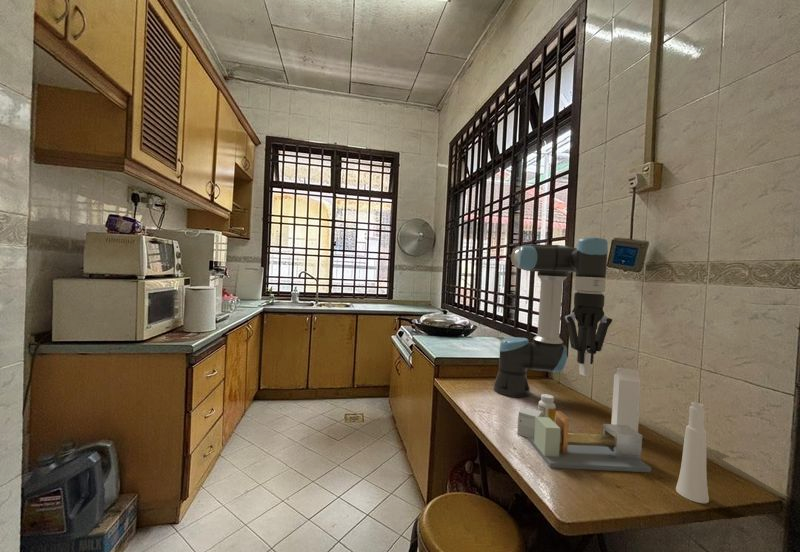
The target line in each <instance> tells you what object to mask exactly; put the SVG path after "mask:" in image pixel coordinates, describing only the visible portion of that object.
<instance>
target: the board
mask: <svg viewBox="0 0 800 552" xmlns="http://www.w3.org/2000/svg"><path fill="white" fill-rule="evenodd" d="M528 441H529V443H530V444H531V446H532V447H533V448H534V450H535V451H536V452H537V453H538V454H539V456H540V457H541V458H542V459H543V461H544V462H545V463H546V464H547V466H548V467H549V468H551V469H569V470H573V469H574V470H592V471H593V470H594V471H595V470H596V471H612V472H613V471H615V472H616V471H617V472H636V473H637V472H638V473H652V467H651V466H650V465H649V464H647V463H646V462H644V461H643V460H642V459H641V460H632V459H616V458H614V457H613V456H612V455H611V454H610V453H608V452H607V451H606V450H605V449H604V448H603V447H600V446H579V445H568V448H567V454H562V453H561V451H560V450H559V457H556V456H544V455H543V453H542V452H541V451H540V450H539V449H538V447H537V446H536V445H535V444H534V438H533V437H529V439H528Z"/></svg>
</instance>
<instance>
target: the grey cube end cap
mask: <svg viewBox="0 0 800 552" xmlns="http://www.w3.org/2000/svg"><path fill="white" fill-rule="evenodd" d="M602 434H606V435H612V436H614V447H603V448H604V449H605V450H606V451H607V452H608V453H610V454H611V455H612V456H613V457H614V458H616V459H632V460H642V446H643V435H642V434H641V433H639V431H638V432H636V431H635V430H633V429H632V428H630V427H629V426H627V425H615V424H611V423H602Z"/></svg>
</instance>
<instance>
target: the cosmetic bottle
mask: <svg viewBox="0 0 800 552" xmlns="http://www.w3.org/2000/svg"><path fill="white" fill-rule="evenodd" d="M704 406H705V405H704V404H703V403H700V402H695V401H691V405H690V406H689V408H688V409H689V412H688V413H689V414H688V424H687V425H686V426H685V430H684V431H685V432H684V440H683V447H682V457H681V464H680V470H679V476H678V480H677V482H676V487H675V491H676V492H677V493H678V494H679V495H680V496H682V497H683V498H684V499H686V500H688V501H692V502H693V503H698V504H708V503H709V502H710V497H709V489H708V479H707V430H706V429H705V417H706V409H705V408H704Z"/></svg>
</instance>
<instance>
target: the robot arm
mask: <svg viewBox="0 0 800 552" xmlns="http://www.w3.org/2000/svg"><path fill="white" fill-rule="evenodd" d="M510 254H511V255H510V262H511V263H512V265H513V266H514V267H515V268H516V269H519V270H522V271H526V272H537V277H538V278H539V279H540V288H539V289H540V292H539V304H538V305H539V307H538V321H537V322H538V323H537V334H536V335H535V336H534V337H533V341H532V342H530V341H529V339H528V338H526V337H517V336H515V337H506V338H503V339H502V340H501V341H500V345H499V349H498V350H499V359H498V371H497V372H498V373H497V375H496V377H495V380H494V383H493V390H494V391H495V393H497V394H500V395H502V396H506V397H513V398H526V397H528V396H530V395H531V394H530V393H531V391H530V390H531V389H530V388H531V387H530V385H529V381H528V378H527V377H528V376H527V371H528V370H532V371H533V370H534V371H540V372H548V373H560V372H562V371H563V370H564V369H565V366H566V364H567V359H568V348H567V346H566V345H564V341H563V340H562V339H561V338H560V329H561V317H562V316H561V314H562V302H563V301H562V300H563V284H564V281H565V280H566V279H567V278H568V275H569V274H571V273H575V277H574V279H575V280H574V291H576V292H574V295H573V309H572V311H571V312H572V313H570V314H568V315H563V319H564V321H565V322H566V326H567V331H568V337H569V343H570V348H571V349H573V350H575V351H577V357H576V358H577V359H576V361H577V363H579V366H578V367H579V369H578V370H579V372H578V374H579V375H582V376H583V377H587V378H588V377H590V373H591V365H593V364H594V355H596V354H597V352H601V351H602V349H603V345H604V343H605V338H606V336H607V333H608V329H609V326H611V324H612V322H613V319H612V318H609V317H607V316H606V315H605V311H604V306H605V296H606V295H605V294H604V293H605V291H606V278H607V277H606V276H607V266H608V265H607V263H608V254H609V250H608V240H607V239H605V238H602V237H582V238H579V239H578V241H577V246H576V247H569V246H567V245H561V244H535V243H532V244H530V243H529V244H523V245H519V246H517V247H515V248H514V249H513V250H512V252H511V253H510ZM575 322H577V325H576V323H575Z"/></svg>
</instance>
